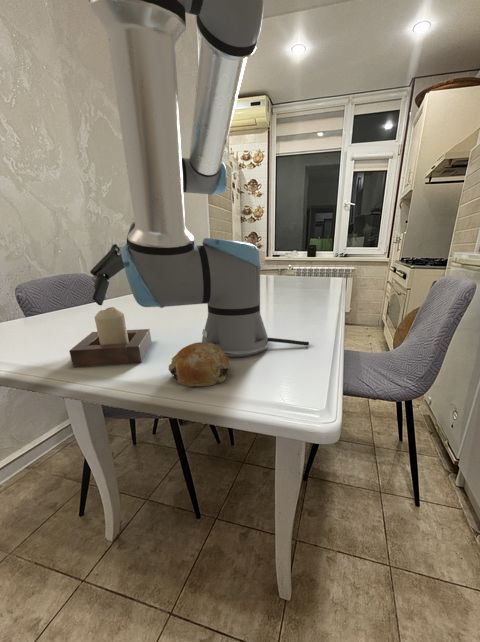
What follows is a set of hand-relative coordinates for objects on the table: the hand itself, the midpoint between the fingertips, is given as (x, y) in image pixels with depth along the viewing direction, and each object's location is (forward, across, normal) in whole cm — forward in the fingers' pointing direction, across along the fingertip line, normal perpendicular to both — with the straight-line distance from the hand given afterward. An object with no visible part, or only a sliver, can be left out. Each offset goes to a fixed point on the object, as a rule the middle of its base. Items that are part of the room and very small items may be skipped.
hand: (125, 302), depth 66 cm
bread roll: (+19, -21, +5) cm, 29 cm away
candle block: (+12, 0, -2) cm, 12 cm away
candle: (+12, 0, -2) cm, 12 cm away
